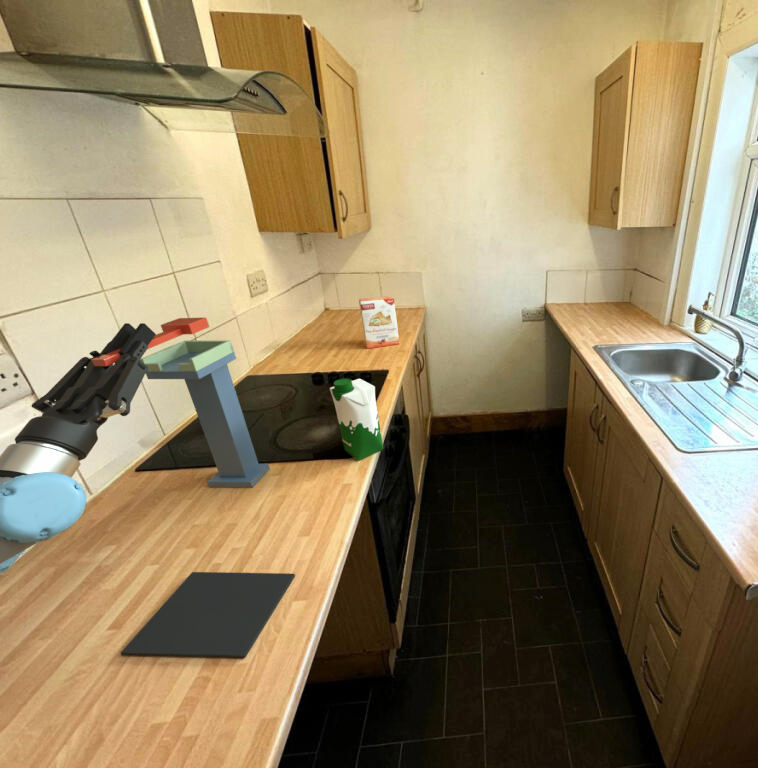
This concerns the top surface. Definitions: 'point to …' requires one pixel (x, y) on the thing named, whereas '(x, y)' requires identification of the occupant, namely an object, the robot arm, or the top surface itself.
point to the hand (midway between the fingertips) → (140, 329)
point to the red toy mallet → (160, 336)
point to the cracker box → (379, 321)
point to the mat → (212, 616)
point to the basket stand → (213, 406)
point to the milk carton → (357, 417)
